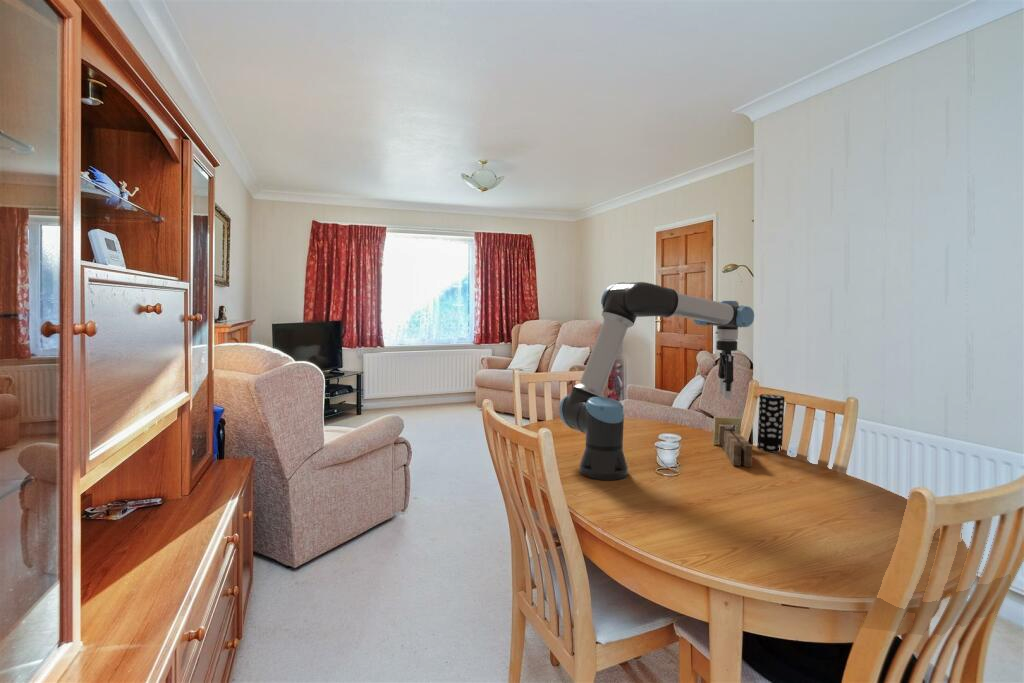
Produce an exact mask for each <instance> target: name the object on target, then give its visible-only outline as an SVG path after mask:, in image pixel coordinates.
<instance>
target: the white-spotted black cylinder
mask: <svg viewBox="0 0 1024 683" xmlns="http://www.w3.org/2000/svg"><path fill="white" fill-rule="evenodd" d="M785 399H786V398H785V396H783V395H778V394H770V393H769V394H767V393H766V394H759V400H758V401H759V403H758V422H757V424H758V425H757V446H756V447H757V449H758V450H759V451H763V452H769V453H780V452H783V451H782V450H783V449H782V450H781V446H782V447H783V438H784V437H783V435H784V415H785V413H784V412H785ZM779 447H780V451H779Z"/></svg>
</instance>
